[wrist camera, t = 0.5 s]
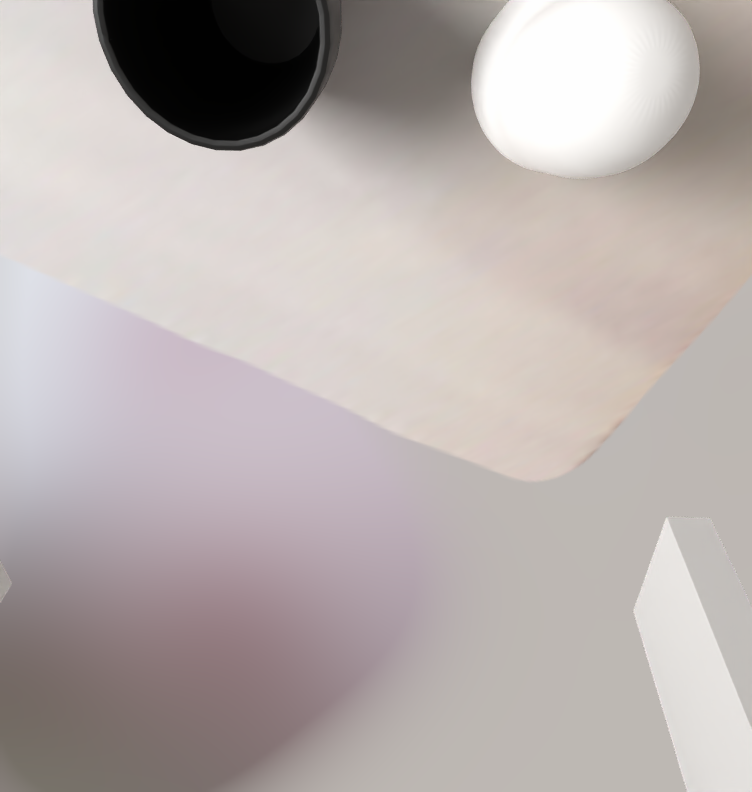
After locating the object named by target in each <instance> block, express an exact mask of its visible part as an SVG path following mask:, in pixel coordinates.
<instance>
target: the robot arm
mask: <svg viewBox="0 0 752 792" xmlns="http://www.w3.org/2000/svg"><path fill="white" fill-rule="evenodd" d="M11 585H12V582H11V580H10V578H9V576H8V574H7V572H6V570H5V568H4V567H3V565H2V563H1V561H0V603H1V601H2V599H3V598H4V596H5V595H6V593H7V591H8V590H9V588H10V587H11ZM633 612H634V615H635V618H636V622H637V625H638V629H639V632H640V635H641V639H642V642H643V645H644V649H645V652H646V656H647V659H648V662H649V665H650V669H651V672H652V676H653V679H654V682H655V686H656V689H657V692H658V696H659V699H660V702H661V706H662V709H663V713H664V716H665V719H666V723H667V726H668V729H669V733H670V736H671V739H672V743H673V746H674V750H675V753H676V756H677V759H678V763H679V766H680V770H681V773H682V776H683V780H684V783H685V786H686V790H687V792H752V606H751V603H750V602H749V599H748V597H747V595H746V593H745V591H744V589H743V587H742V584H741V583H740V580H739V578H738V576H737V574H736V572H735V569H734V567H733V565H732V564H731V561H730V559H729V557H728V555H727V553H726V550H725V548H724V546H723V544H722V542H721V540H720V538H719V536H718V533H717V531H716V529H715V527H714V525H713V523H712V521H711V519H710V518H694V517H666V520H665V523H664V526H663V529H662V531H661V534H660V537H659V540H658V542H657V545H656V548H655V551H654V554H653V557H652V559H651V562H650V565H649V568H648V571H647V574H646V576H645V579H644V582H643V585H642V588H641V591H640V594H639V596H638V599H637V602H636V605H635V608H634V610H633Z"/></svg>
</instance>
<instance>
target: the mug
mask: <svg viewBox="0 0 752 792" xmlns="http://www.w3.org/2000/svg"><path fill="white" fill-rule="evenodd" d="M93 14H94V18H95V23H96V28H97V32H98V37H99V42H100V44H101V46H102V49H103V51H104V54H105V56H106V59H107V61H108V64H109V66H110V68H111V71H112V72H113V74H114V75H115V77H116V78H117V80H118V82H119V83H120V85H121V86H122V88H123V89H124V91H125V93H126V94H127V96H128V97H129V98H130V99H131V100H132V101H133V102H134V103H135V104H136V105H137V106H138V108H139V109H140V110H141V111H142V112H143V113H144V114H145V115H146V116H147V117H148V118H150V119H151V120H152V121H154V122H155V123H156V124H157V125H159V126H160V127H161V128H163V129H164V130H165V131H167V132H168V133H170V134H172V135H174V136H176V137H178V138H180V139H182V140H185V141H187V142H189V143H191V144H194V145H198V146H202V147H206V148H210V149H214V150H234V151H241V150H246V149H250V148H255V147H259V146H264V145H266V144H268V143H270V142H272V141H273V140H275V139H277V138H279V137H281V136H283V135H285V134H286V133H287V132H288V131H290V130H291V129H292V128H293V127H294V126H295V125H296V124H298V123H299V122H300V121H301V120H302V119H303V118H304V117H305V115H306V114H307V112H308V111H309V109H310V108H311V107H312V105H313V104H314V102H315V101H316V99H317V98H318V96H319V95H320V93H321V92H322V90H323V89H324V87H325V85H326V83H327V81H328V79H329V77H330V74H331V72H332V69H333V67H334V64H335V62H336V59H337V55H338V49H339V43H340V38H341V1H340V0H93Z"/></svg>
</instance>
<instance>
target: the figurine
mask: <svg viewBox="0 0 752 792" xmlns="http://www.w3.org/2000/svg"><path fill="white" fill-rule="evenodd" d="M699 78H700V62H699V54H698V49H697V44H696V41H695V38H694V35H693V32H692V30H691V28H690V26H689V24H688V22H687V20H686V19H685V18H684V16H683V15H682V14H681V12H680V11H679V10H678V9H677V8H676V7H675V6H673V5H672V4H671V3H670V2H668V1H667V0H509V1H508V2H507V4H506V5H505V6H504V7H503V8H502V10H501V11H500V12H499V13H498V15H497V16H496V17H495V18H494V20H493V21H492V23H491V24H490V25H489V27H488V28H487V30H486V32H485V33H484V35H483V37H482V39H481V41H480V43H479V46H478V48H477V51H476V54H475V58H474V62H473V67H472V76H471V91H472V100H473V106H474V110H475V113H476V116H477V119H478V122H479V124H480V126H481V128H482V130H483V132H484V134H485V135H486V137H487V138H488V140H489V141H490V142H491V144H492V145H493V146H494V147H495V148H496V149H497V150H498V151H499V152H500V153H501V154H502V155H503V156H505V157H506V158H507V159H509V160H510V161H512V162H513V163H515V164H517V165H519V166H521V167H524V168H526V169H529V170H532V171H536V172H541V173H548V174H551V175H555V176H559V177H564V178H573V179H588V178H599V177H606V176H611V175H615V174H619V173H622V172H625V171H627V170H630V169H632V168H634V167H636V166H638V165H640V164H641V163H643V162H645V161H646V160H648V159H649V158H651V157H652V156H653V155H655V154H656V153H657V152H658V151H659V150H661V149H662V148H663V147H664V146H665V145H666V144H667V143H668V142H669V141H670V140H671V139H672V138H673V137H674V135H675V134H676V133H677V132H678V130H679V129H680V128H681V126H682V125H683V123H684V122H685V120H686V118H687V116H688V115H689V113H690V111H691V108H692V106H693V103H694V101H695V97H696V94H697V90H698V85H699Z"/></svg>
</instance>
